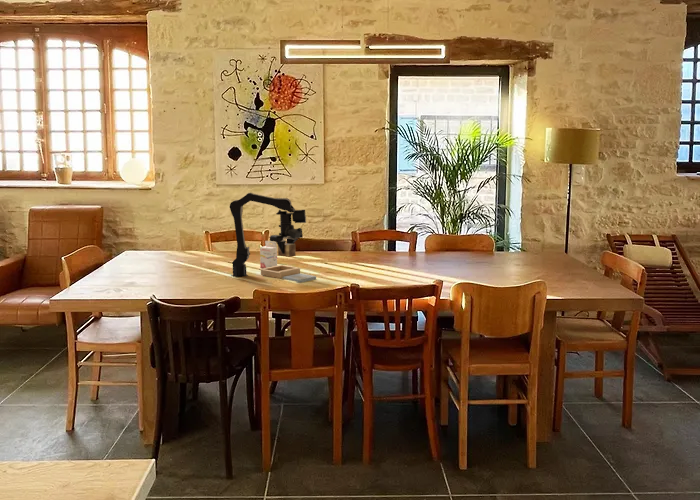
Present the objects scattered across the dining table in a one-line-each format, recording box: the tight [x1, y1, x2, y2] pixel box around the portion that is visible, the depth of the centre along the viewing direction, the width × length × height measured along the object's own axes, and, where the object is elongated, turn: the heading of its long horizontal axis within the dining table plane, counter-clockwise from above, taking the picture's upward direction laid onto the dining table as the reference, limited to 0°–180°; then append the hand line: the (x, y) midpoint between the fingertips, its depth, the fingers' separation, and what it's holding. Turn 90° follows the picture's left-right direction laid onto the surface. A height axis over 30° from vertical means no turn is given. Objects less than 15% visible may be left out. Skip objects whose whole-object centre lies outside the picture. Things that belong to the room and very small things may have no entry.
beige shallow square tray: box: [259, 264, 303, 279], centre depth 391 cm, size 16×15×4 cm
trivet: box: [282, 272, 317, 284], centre depth 381 cm, size 12×12×2 cm
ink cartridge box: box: [259, 240, 278, 269], centre depth 411 cm, size 9×5×15 cm, turn 58°
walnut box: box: [277, 242, 297, 258], centre depth 386 cm, size 5×8×6 cm, turn 50°
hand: (286, 253), depth 386 cm, fingers closed on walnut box, 4 cm apart
